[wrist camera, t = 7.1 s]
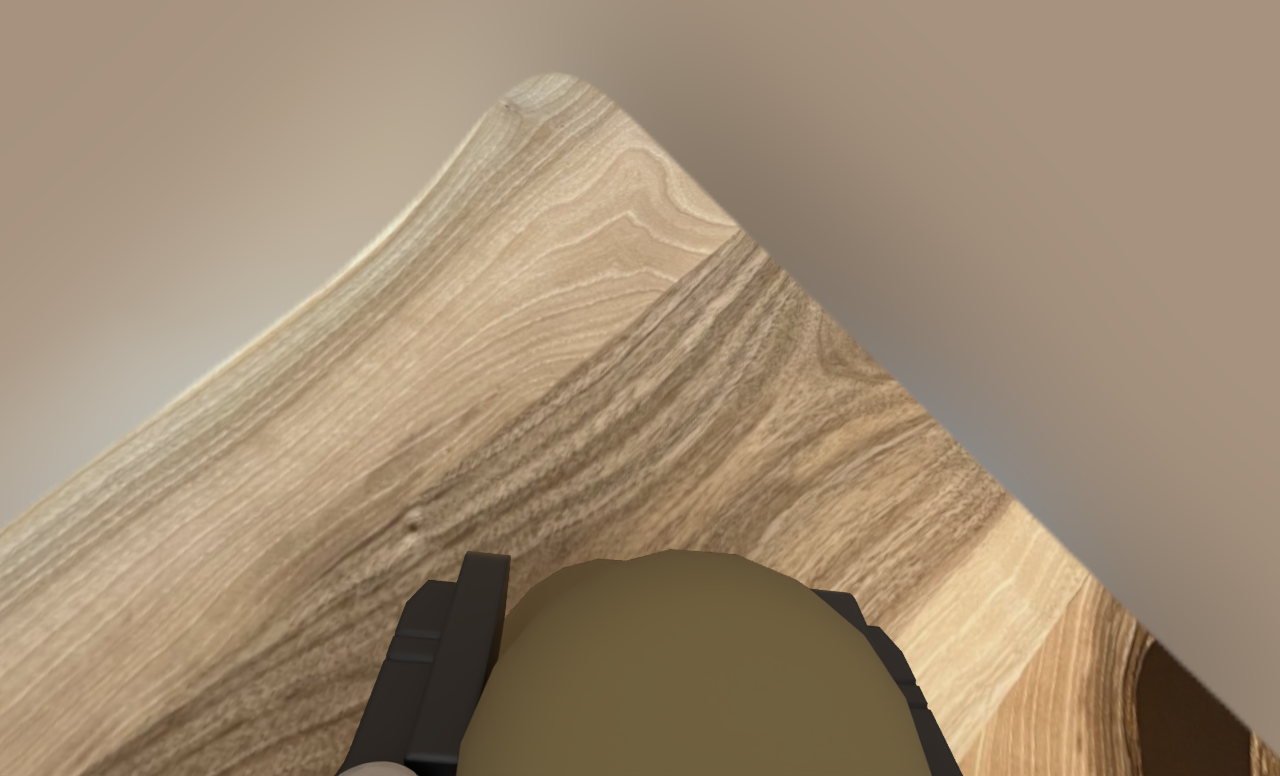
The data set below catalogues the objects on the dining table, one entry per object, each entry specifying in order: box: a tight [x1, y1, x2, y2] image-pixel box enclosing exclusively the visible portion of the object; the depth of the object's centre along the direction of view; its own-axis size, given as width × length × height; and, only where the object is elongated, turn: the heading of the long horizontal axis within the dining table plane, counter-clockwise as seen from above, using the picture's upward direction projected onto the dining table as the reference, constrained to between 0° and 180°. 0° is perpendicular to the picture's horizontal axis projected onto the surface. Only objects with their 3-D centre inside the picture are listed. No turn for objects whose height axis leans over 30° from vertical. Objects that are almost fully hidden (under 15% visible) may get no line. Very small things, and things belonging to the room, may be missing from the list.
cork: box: [456, 549, 932, 776], centre depth 11 cm, size 6×6×11 cm
